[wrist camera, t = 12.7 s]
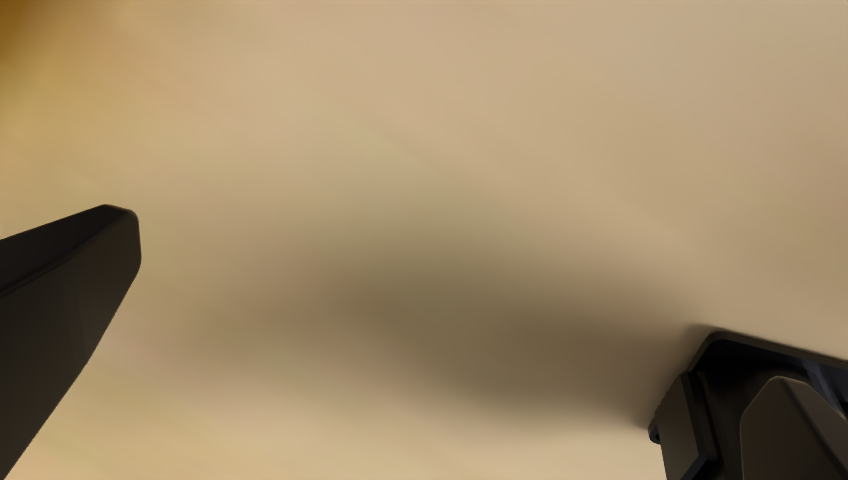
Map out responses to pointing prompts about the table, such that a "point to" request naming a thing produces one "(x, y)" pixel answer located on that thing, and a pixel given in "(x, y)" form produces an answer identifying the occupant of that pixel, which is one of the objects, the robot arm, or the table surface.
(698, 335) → the table surface
